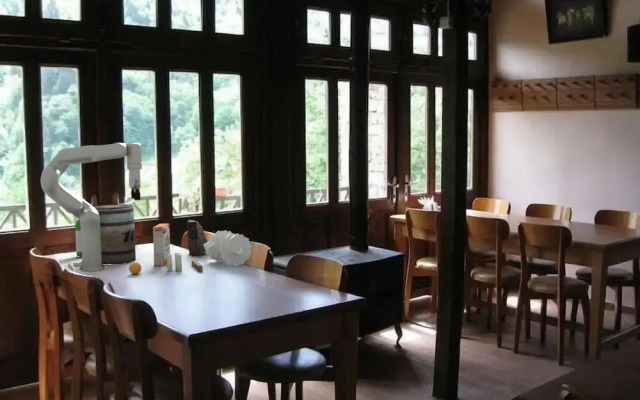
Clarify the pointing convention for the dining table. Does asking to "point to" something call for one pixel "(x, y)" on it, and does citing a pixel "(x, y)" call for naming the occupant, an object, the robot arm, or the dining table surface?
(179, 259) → the pin
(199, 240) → the dark brown tall piece
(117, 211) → the barrel
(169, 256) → the front pin
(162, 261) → the cracker box
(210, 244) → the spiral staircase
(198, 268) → the brown wooden bar
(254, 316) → the dining table surface
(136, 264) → the ball
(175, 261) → the pin
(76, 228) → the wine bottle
